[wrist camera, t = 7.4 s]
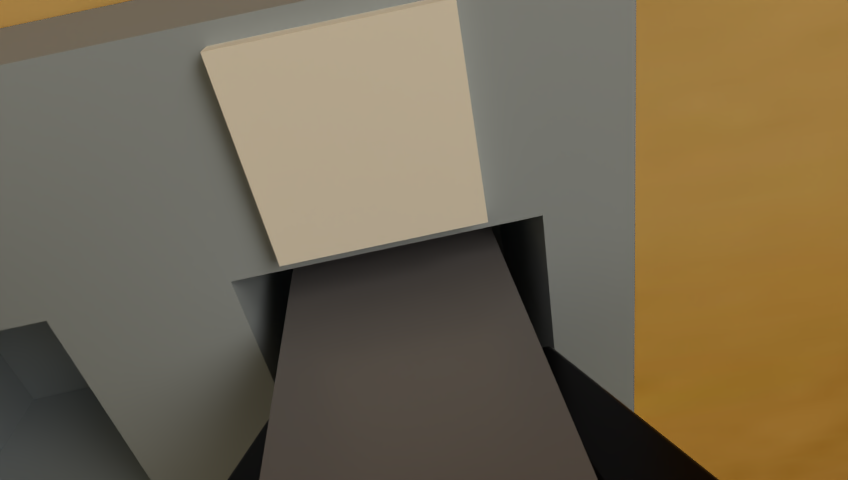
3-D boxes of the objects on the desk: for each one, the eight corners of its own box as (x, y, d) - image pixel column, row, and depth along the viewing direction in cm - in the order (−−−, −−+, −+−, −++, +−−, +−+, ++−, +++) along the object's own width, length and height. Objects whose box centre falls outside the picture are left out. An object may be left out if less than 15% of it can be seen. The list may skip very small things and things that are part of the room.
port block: (559, 361, 16) (639, 540, 12) (66, 466, 16) (-45, 685, 12) (522, -83, 11) (648, -69, 6) (-229, 76, 11) (-658, 208, 6)
